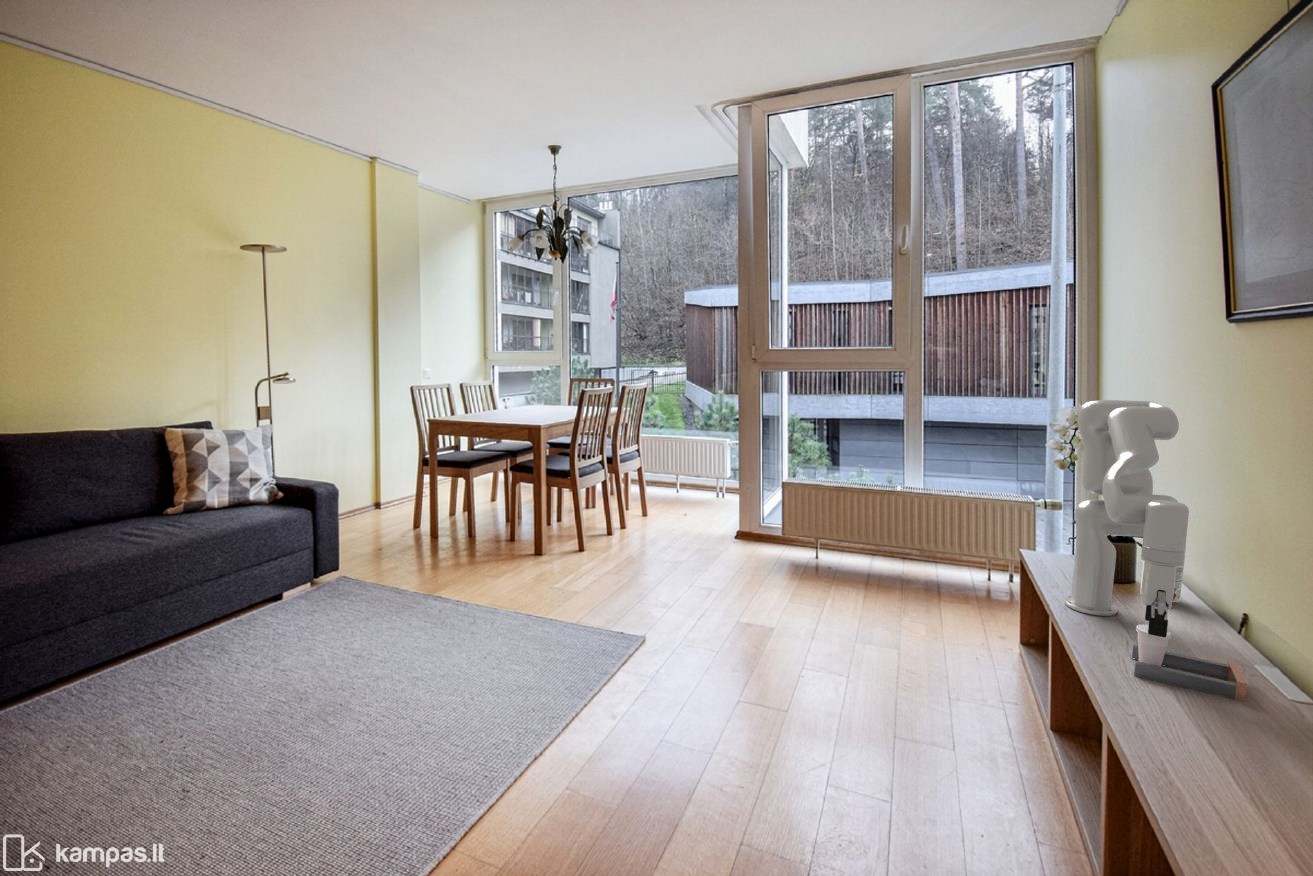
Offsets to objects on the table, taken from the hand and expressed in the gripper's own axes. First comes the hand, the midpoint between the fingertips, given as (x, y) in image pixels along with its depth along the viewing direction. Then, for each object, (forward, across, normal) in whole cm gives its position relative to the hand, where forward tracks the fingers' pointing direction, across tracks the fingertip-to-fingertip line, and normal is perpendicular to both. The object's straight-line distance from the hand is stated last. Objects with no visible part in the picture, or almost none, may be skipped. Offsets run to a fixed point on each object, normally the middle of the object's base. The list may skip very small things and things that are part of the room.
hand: (1155, 628), depth 143 cm
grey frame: (+10, -1, +5) cm, 12 cm away
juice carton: (+9, -57, +5) cm, 58 cm away
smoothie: (+10, -1, 0) cm, 10 cm away
